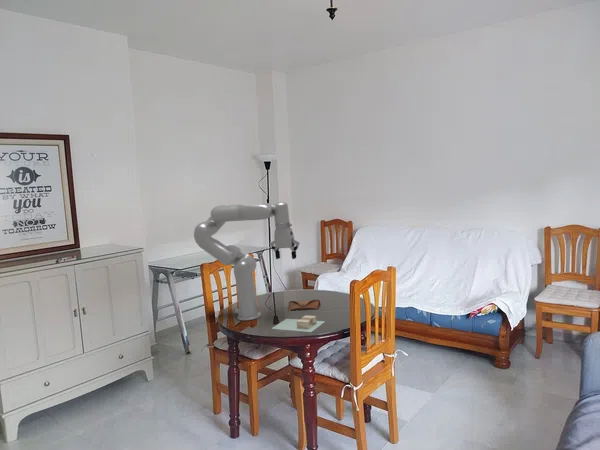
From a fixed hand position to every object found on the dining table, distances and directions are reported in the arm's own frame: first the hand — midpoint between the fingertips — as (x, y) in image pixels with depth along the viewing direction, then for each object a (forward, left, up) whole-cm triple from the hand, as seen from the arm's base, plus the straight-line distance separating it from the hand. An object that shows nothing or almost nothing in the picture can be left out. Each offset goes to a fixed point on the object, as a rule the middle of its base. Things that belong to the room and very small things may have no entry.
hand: (286, 258), depth 241 cm
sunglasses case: (+1, +12, -31) cm, 33 cm away
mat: (+12, -15, -30) cm, 36 cm away
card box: (+17, -15, -30) cm, 37 cm away
